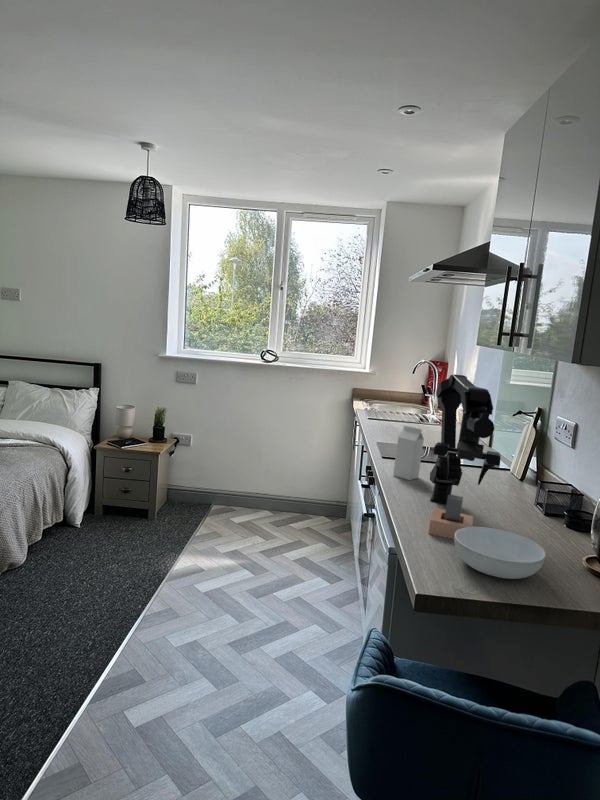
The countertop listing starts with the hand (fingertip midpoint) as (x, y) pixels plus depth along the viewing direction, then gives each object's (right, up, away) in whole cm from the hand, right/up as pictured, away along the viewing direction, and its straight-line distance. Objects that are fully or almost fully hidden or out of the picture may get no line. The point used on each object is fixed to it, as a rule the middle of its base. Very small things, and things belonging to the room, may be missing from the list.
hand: (462, 481), depth 163 cm
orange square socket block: (-6, -13, -8) cm, 16 cm away
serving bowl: (-1, -17, -30) cm, 34 cm away
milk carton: (-9, -5, +43) cm, 44 cm away
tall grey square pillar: (-6, -13, -8) cm, 16 cm away
